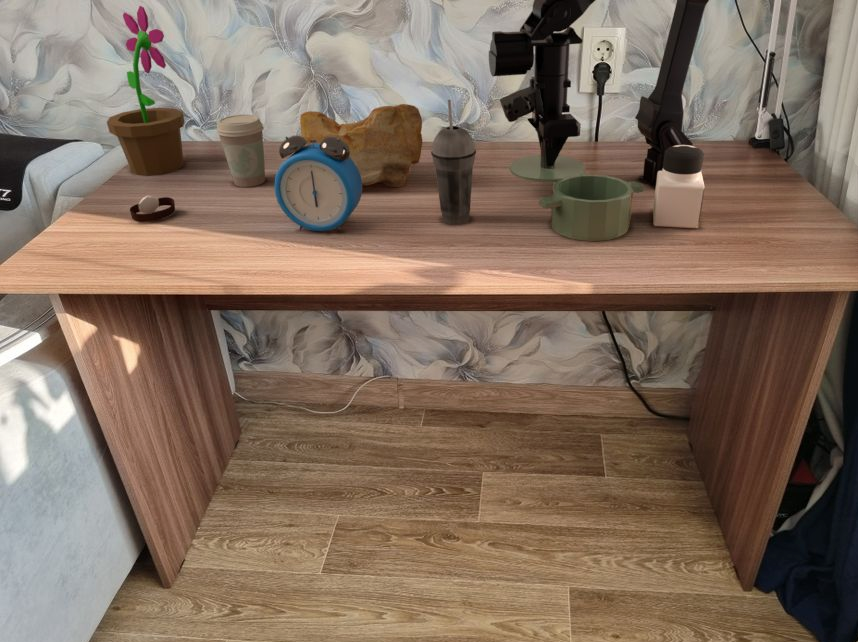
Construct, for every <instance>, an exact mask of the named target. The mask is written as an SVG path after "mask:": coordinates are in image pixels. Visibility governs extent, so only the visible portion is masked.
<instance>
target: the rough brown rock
mask: <svg viewBox="0 0 858 642" xmlns="http://www.w3.org/2000/svg"><path fill="white" fill-rule="evenodd" d="M299 117H300V118H299V122H300V132H301V134H300V135H301V136H302V137H304V138H305V139H306V140H307V142H308V143H307V144H306V145H309V144H314V143H320V142H321V141H322V140H323V139H324V138H326V137H329V136H335V137H338V138H340V139H342V140H343V141H345V142H346V144H347V145H348V147H349V150H350V155H349V157H350V158H351V160H352V161H353V162H354V163H355V165H356V167H357V168H358V171H359V173H360V176H361V180H362V186H370V185H373V184H376V183H381V184H384V185H386V186H388V187H392V188H401V187H402V186H404V185H405V184H406V181H407V178H408V175H409V173H410V169H411V168H410V167H412V166H414V165H416V164H418V163H419V162H420V161H421V155H422V149H423V135H422V128H423V117H422V115H421V113H420V110H419V108H418V107H416V106H415V105H412V104H407V103H402V104H398V105H397V104H396V105H384V106H378V107H375V108H373V109H372V110H371V111H370V113H369V115H368V116H367V117H364V119H361V120H359V121H357V122H352V123H341V124H340V123H338V122H337V121H336V120H334V119H332V118H330V117H328V116H327V115H325V113H323V112H321V111H313V110H311V111H310V110H309V111H305V112H303V113H301V114H300V116H299ZM309 140H316V142H309ZM306 145H304V146H306Z"/></svg>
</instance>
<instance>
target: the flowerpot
mask: <svg viewBox="0 0 858 642" xmlns="http://www.w3.org/2000/svg"><path fill="white" fill-rule="evenodd" d="M122 19H123V21H124V23H125V26H126V27H127V28H128V30H129V31H130V32H131V33H132V34H134V35H137V37H131V38H128V39H127V40H126V43H125V47H126V49H127V51H130V52H132V53H133V52H134V54H133V61H132V69H133V72H132V70H130V71H129V70H128V71H126V76H127V82H128V85H129V87H130V88H132V90H134V89H135V93H136V95H137V100H138V104H139V109H134V110H128V111H122V112H120V113H118V114H115V115H112V116H110V117H109V118H108V119H107V120H106V124H107V128H108V131H109V134H111V135H113V136H115V137H117V139H118V142H119V145H120V147H121V149H122V151H123V154H124V156H125V159H126V161H127V163H128V166H129V168H130V170H131V172H132V173H135V174H136V175H143V176H155V175H156V176H157V175H164V174H168V173H173V172H175V171H177V170H179V169H182V168H183V165H184V154H183V153H184V152H183V144H182V133H181V129H182V128H184V125H185V122H186V121H185V117H184V113H183V111H182V110H179V109H177V108H173V107H172V108H171V107H151V106H152V105H153V106H154V105H155V104H156V102H155V100H154V99H152V98H151V97H149V96H147V95H146V94H145V93H143V92H142V88H141V82H140V81H141V80H140V79H141V78H140V70H139V61H140V64H141V66H142V68H143V70H144V73H146V74H150V72H151V70H152V67H153V66H152V60H153V62H154V63H155V64H156V66H158V67H160V68H162V69H165V68H166V66H167V64H166V61H165V58H164V55H163V54H162V53H161V52H160V50H159V49H158V47H155V46H152V44H153V45H156V44H159V43H162V42H163V40H164V37H165V35H164V32H163V30H161V29H158V28H154V29H152V30H149V29H148V28H149V16H148V14H147V12H146V9H145V7H144V6H142V5H139V6H138V9H137V11H136V19H137V21H136V20H135V19H134V17H133V16H132V15H130V14H129V13H127V12H123V14H122ZM148 30H149V31H148ZM147 31H148V33H147ZM141 49H142V50H141ZM146 107H150V108H146Z"/></svg>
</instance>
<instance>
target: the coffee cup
mask: <svg viewBox="0 0 858 642" xmlns="http://www.w3.org/2000/svg"><path fill="white" fill-rule="evenodd" d="M264 129H265V128H264V126H263V123H262V121H261V120H260V117H259V116H258V115H254V114H248V113H247V114H244V113H243V114H233V115H228V116H224V117H221V118H219V119H218V120H217V127H216V134H217V135H218V136H219V140H220V143H221V145H222V149H223V152H224V155H225V159H226V161H227V165H228V167H229V171H230V174H231V177H232V180H233V183H234V185H235V186H236V187H240V188H253V187H256V186H261V185H262V184H264V183H265V182H266V172H265V153H264V136H263V135H264V134H263V130H264Z"/></svg>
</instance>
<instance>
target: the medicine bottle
mask: <svg viewBox="0 0 858 642" xmlns="http://www.w3.org/2000/svg"><path fill="white" fill-rule="evenodd" d="M704 156H705V153H704V151H703V150H702V149H700V148H699V147H696V146H694V145H693V146H690V145H676V146H672V147H669V148H668V149H667V150H666V151H665V154H664V162H663V170H662V171H658V173H657V181H656V188H655V189H654V190H655V191H654V198H653V206H652V221H653V223H652V224H653V226H654V227H665V228H682V229H683V228H684V229H698V228H699V227H700V226H699V225H700V220H701V214H702V207H703V202H704V194H705V189H706V187H705V182H704V177H703V173H702V170H703V164H704Z"/></svg>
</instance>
